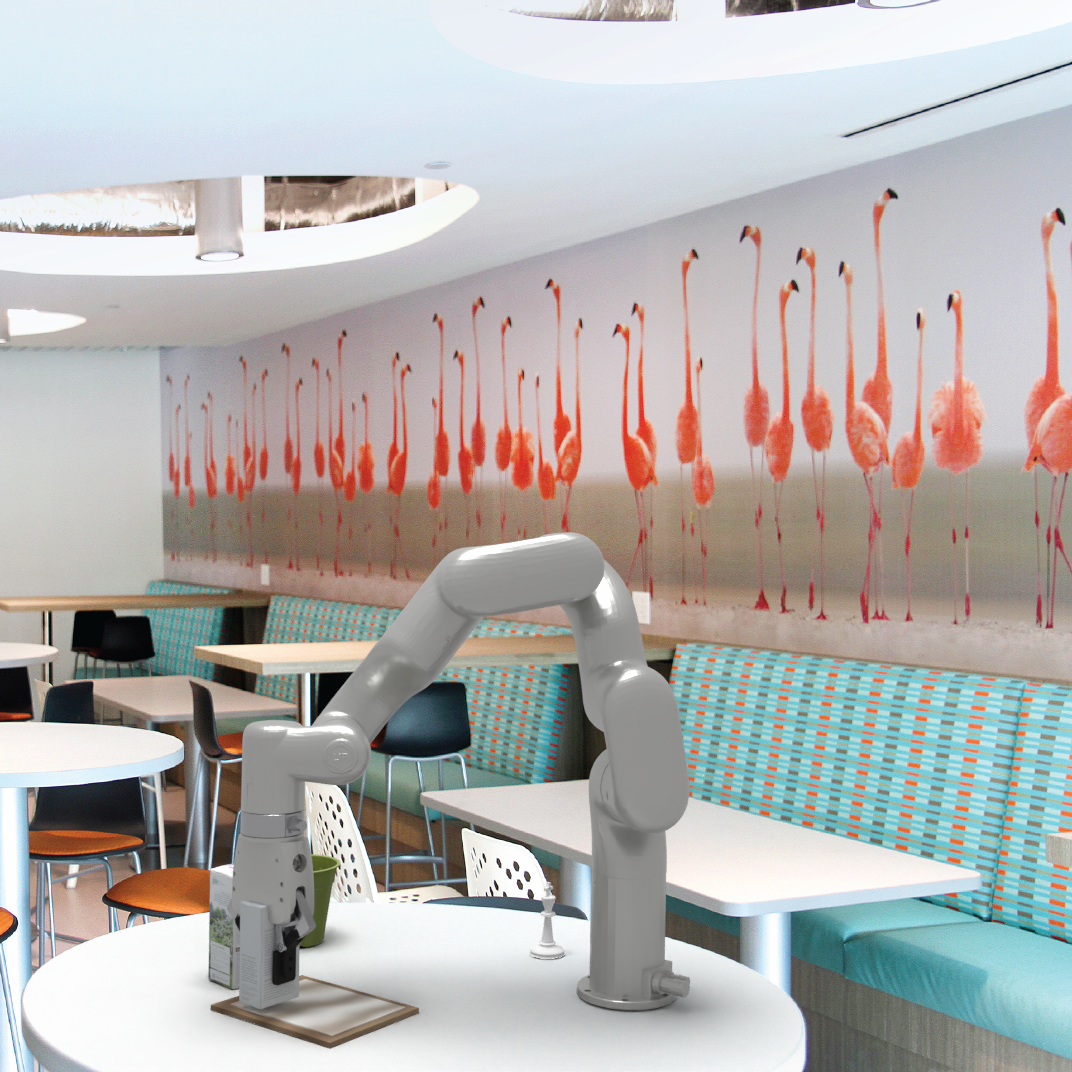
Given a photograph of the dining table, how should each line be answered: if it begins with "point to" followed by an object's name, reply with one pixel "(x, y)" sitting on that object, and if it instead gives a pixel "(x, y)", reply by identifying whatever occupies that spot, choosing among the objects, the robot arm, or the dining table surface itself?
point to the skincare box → (261, 960)
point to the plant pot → (321, 895)
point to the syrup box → (223, 930)
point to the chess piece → (547, 930)
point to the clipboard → (322, 1013)
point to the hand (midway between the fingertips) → (269, 976)
